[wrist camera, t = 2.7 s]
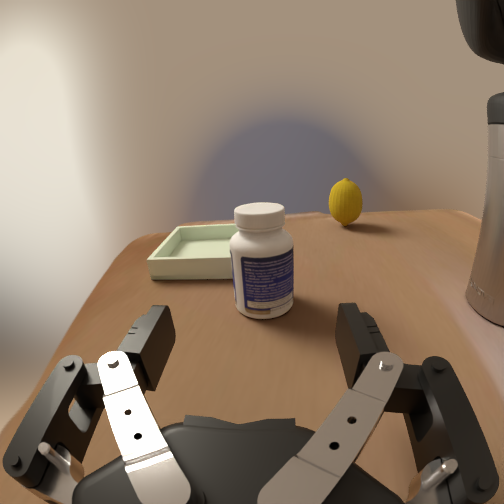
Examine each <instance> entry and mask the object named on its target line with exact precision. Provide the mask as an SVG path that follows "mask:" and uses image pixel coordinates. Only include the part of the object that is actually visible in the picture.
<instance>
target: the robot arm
mask: <svg viewBox="0 0 504 504" xmlns="http://www.w3.org/2000/svg"><path fill="white" fill-rule="evenodd" d="M456 5H457V12H458V18H459V22H460V26H461V29H462V32H463V35H464V37H465V40H466V42H467V43H468V45H469V47H470V48H471V49H472V51H473V52H474V53H475V54H477V55H478V56H480V57H482V58H484V59H486V60H489V61H492V62H496V63H500V64H504V0H456ZM487 117H488V167H487V183H486V194H485V203H484V210H483V217H482V223H481V229H480V235H479V240H478V245H477V250H476V255H475V259H474V263H473V267H472V271H471V275H470V279H469V283H468V286H467V290H466V297H467V300H468V302H469V303H470V305H471V306H472V307H473V308H474V309H475V310H476V311H477V312H478V313H479V314H481V315H482V316H483V317H485V318H486V319H488V320H490V321H492V322H494V323H497V324H499V325H502V326H504V92H503V93H499V94H496V95H494V96H492V97H490V99H489V100H488V103H487ZM175 337H176V335H175V329H174V325H173V321H172V316H171V312H170V309H169V307H168V306H164V305H153V306H152V307H151V308H150V310H149V312H148V313H147V315H142V316H141V317H140V318H138V319H137V320H136V321H135V322H134V324H133V325H132V327H131V328H130V330H129V332H128V334H127V335H126V336H125V338H124V339H123V341H122V343H121V344H120V346H119V347H118V349H117V351H113V352H109V353H107V354H105V355H103V356H102V357H101V358H100V360H99V362H98V363H90V364H84V363H83V361H82V359H81V358H80V357H79V356H77V355H70V356H66V357H64V358H63V359H61V360H60V361H59V363H58V364H57V365H56V367H55V368H54V370H53V371H52V373H51V374H50V376H49V378H48V379H47V381H46V382H45V384H44V385H43V387H42V389H41V390H40V392H39V393H38V395H37V397H36V398H35V400H34V402H33V403H32V405H31V407H30V408H29V410H28V412H27V413H26V415H25V417H24V419H23V420H22V422H21V424H20V426H19V427H18V429H17V431H16V433H15V435H14V437H13V439H12V441H11V442H10V444H9V446H8V448H7V450H6V452H5V454H4V457H3V467H4V469H5V471H6V472H7V473H8V474H9V475H10V476H11V477H13V478H14V479H15V480H16V481H18V482H19V483H20V484H21V485H22V486H23V487H24V488H26V489H27V490H28V491H30V492H31V493H33V494H34V495H36V496H37V497H39V498H40V499H43V500H44V501H46V502H47V503H49V504H484V503H485V502H487V501H488V500H490V499H491V498H492V497H493V496H494V495H495V493H496V492H497V489H498V486H499V476H498V473H497V470H496V467H495V464H494V461H493V458H492V455H491V453H490V450H489V447H488V445H487V442H486V439H485V437H484V434H483V432H482V429H481V427H480V425H479V422H478V420H477V418H476V415H475V413H474V411H473V409H472V406H471V404H470V402H469V400H468V398H467V396H466V394H465V392H464V390H463V388H462V386H461V384H460V382H459V380H458V378H457V376H456V374H455V372H454V370H453V368H452V366H451V364H450V363H449V362H448V361H447V360H445V359H444V358H441V357H437V356H432V357H428V358H426V359H425V360H424V361H423V363H422V366H421V365H409V364H404V363H403V361H402V360H401V358H400V357H399V356H397V355H396V354H394V353H391V352H390V351H389V349H388V347H387V345H386V343H385V341H384V339H383V336H382V334H381V333H380V330H379V328H378V327H377V324H376V322H375V320H374V318H373V317H371V316H370V315H369V314H368V313H367V312H363V313H360V311H359V309H358V307H357V304H356V303H340V304H339V307H338V315H337V323H336V330H335V338H336V344H337V348H338V351H339V355H340V359H341V362H342V366H343V370H344V374H345V378H346V381H347V385H348V389H347V391H346V392H345V393H344V395H343V396H342V398H341V399H340V401H339V402H338V403H337V405H336V406H335V408H334V409H333V410H332V412H331V413H330V414H329V416H328V417H327V418H326V420H325V421H324V422H323V424H322V425H321V426H320V427H319V429H318V430H317V431H316V432H315V431H313V430H310V429H307V428H304V427H300V426H295V418H291V419H265V420H260V421H255V422H250V423H244V424H234V423H230V422H227V421H223V420H219V419H216V418H212V417H202V416H192V415H185V419H184V422H180V423H175V424H171V425H168V426H166V427H163V428H162V429H160V427H159V425H158V423H157V421H156V419H155V417H154V415H153V413H152V411H151V409H150V407H149V405H148V402H147V400H146V398H145V396H144V394H145V391H146V390H149V391H155V390H156V387H157V385H158V382H159V380H160V377H161V375H162V372H163V370H164V368H165V365H166V363H167V360H168V358H169V355H170V353H171V351H172V348H173V346H174V343H175ZM73 398H75V400H76V401H75V402H74V404H73V406H72V408H71V410H70V412H69V413H68V408H69V405H70V403H71V401H72V400H73ZM104 408H106V410H107V413H108V416H109V419H110V423H111V426H112V429H113V432H114V434H115V437H116V440H117V443H118V446H119V448H120V451H121V454H122V455H120V456H119V457H117V458H116V459H114V460H112V461H111V462H109V463H108V464H106V465H104V466H103V467H101V468H99V469H98V470H96V471H94V472H93V473H91V474H89V475H87V476H86V477H84V468H83V466H82V461H83V459H84V456H85V453H86V451H87V448H88V446H89V443H90V441H91V438H92V436H93V433H94V431H95V428H96V426H97V423H98V421H99V419H100V416H101V414H102V411H103V409H104ZM384 412H395V413H403V415H404V419H405V423H406V426H407V430H408V434H409V437H410V441H411V445H412V449H413V453H414V458H415V462H416V466H417V471H418V474H417V475H416V476H415V477H414V478H413V480H412V481H411V483H410V485H409V495H408V499H407V501H406V502H405V503H404V502H403V501H402V499H401V498H400V497H399V496H398V495H396V494H395V493H394V492H392V491H391V490H389V489H388V488H387V487H385V486H384V485H383V484H381V483H380V482H379V481H377V480H376V479H375V478H373V477H372V476H371V475H370V474H368V473H367V472H366V471H364V470H363V469H362V468H361V467H359V466H358V465H357V464H356V463H355V462H356V460H357V459H358V457H359V456H360V454H361V452H362V451H363V449H364V447H365V445H366V444H367V442H368V440H369V439H370V437H371V435H372V433H373V432H374V430H375V428H376V426H377V424H378V423H379V421H380V419H381V417H382V415H383V413H384Z"/></svg>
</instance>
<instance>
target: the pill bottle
mask: <svg viewBox="0 0 504 504" xmlns="http://www.w3.org/2000/svg"><path fill="white" fill-rule="evenodd" d="M234 215H235V216H234V217H235V224H236V228H237V229H239V231H238V232H237V233H235V234H234V235H233V236H232V238H231V240H230V257H231V266H232V275H233V285H234V296H235V304H236V307H237V309H238V310H239V311H240V312H241V313H242V314H244V315H245V316H248V317H251V318H256V319H269V318H274V317H278V316H280V315H283V314H284V313H286V312H287V311H288V310H289V309H290V308H291V307H292V304H293V272H294V271H293V268H294V266H293V239H292V236H291V235H290V234H289V233H288V232H287V231H286V230H284V229H282V227H283V226H284V225H285V222H284V221H285V212H284V207H283V206H282V205H280V204H277V203H266V202H265V203H251V204H245V205H241V206H239V207H237V208H235V210H234Z"/></svg>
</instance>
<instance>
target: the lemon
mask: <svg viewBox="0 0 504 504" xmlns="http://www.w3.org/2000/svg"><path fill="white" fill-rule="evenodd" d="M329 209H330V212H331V215H332V216H333V218H334V219H335V220H337V221H338V222H340V223H341V224H342V225H343V226H347V225H348V224H349V223H351V222H354V221H355V220H356V219H357V218H358V217H359V215H360V213H361V210H362V195H361V191H360V189H359V188H358V186H357V185H356V184H355V183H353V182H352V181H350V180H349V179H348V178H344V179H343V180H342V181H339V182H338V183H336V184H335V185H334V186H333V188H332V190H331V192H330V197H329Z"/></svg>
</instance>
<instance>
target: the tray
mask: <svg viewBox="0 0 504 504" xmlns="http://www.w3.org/2000/svg"><path fill="white" fill-rule="evenodd" d="M238 231H239V229H237V228H236V224H216V225H197V226H180V227H177V228H176V229H175V230H174V231H173V232H172V233H171V234H170V235H169V236H168V237H167V238H166V239H165V240H164V241H163V242H162V244H161V245H160V246H159V247H158V248H157V249H156V250H155V251H154V252H153V253H152V255H151V256H150V257H149V258H148V259H147V263H148V268H149V272H150V277H151V280H176V279H233V275H232V266H231V257H230V240H231V238H232V236H233V235H234V234H235V233H237V232H238Z"/></svg>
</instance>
